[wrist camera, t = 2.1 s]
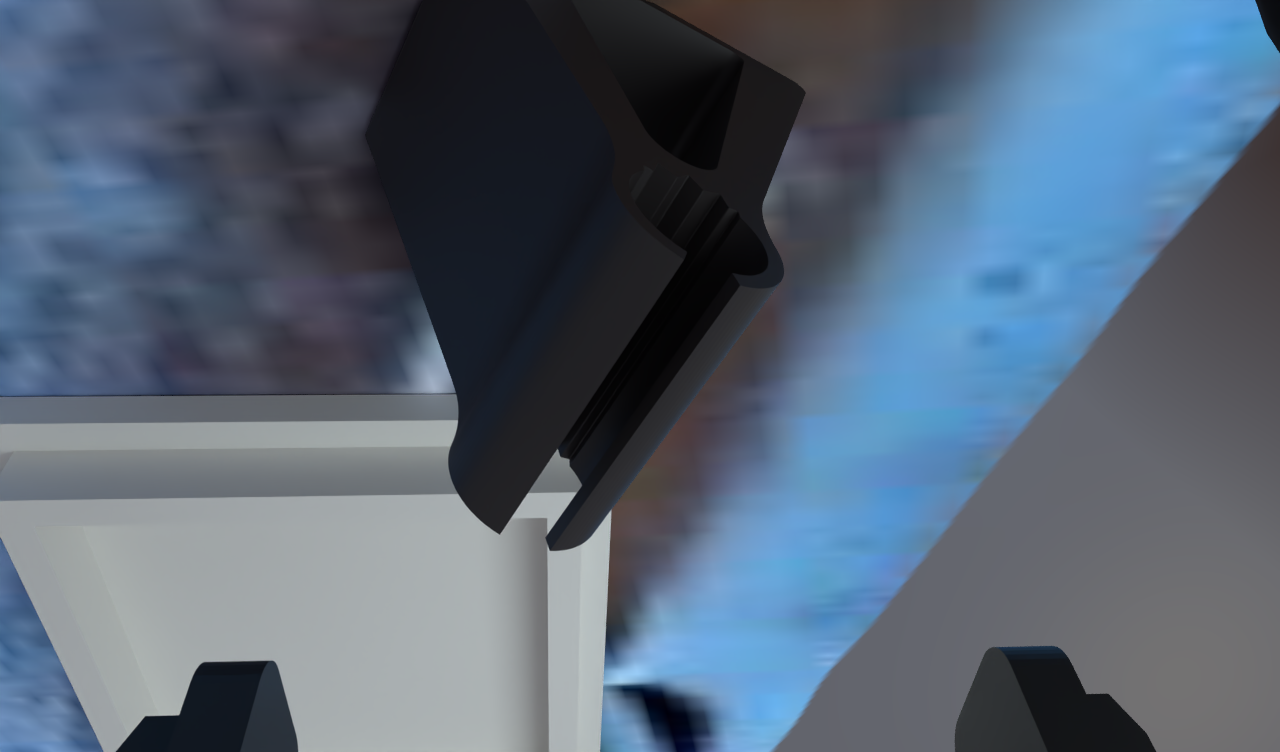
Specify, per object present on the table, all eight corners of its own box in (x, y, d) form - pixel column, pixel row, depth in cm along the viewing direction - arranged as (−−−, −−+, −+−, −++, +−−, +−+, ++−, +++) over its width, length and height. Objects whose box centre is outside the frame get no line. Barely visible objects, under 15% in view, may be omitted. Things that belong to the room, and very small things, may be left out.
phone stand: (365, 126, 25) (254, 455, 15) (466, -105, 22) (404, 126, 12) (678, 271, 28) (745, 616, 18) (803, 86, 25) (960, 387, 15)
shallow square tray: (153, 781, 41) (127, 859, 38) (-17, 397, 29) (-71, 473, 26) (596, 763, 43) (600, 837, 40) (613, 393, 30) (619, 465, 28)
